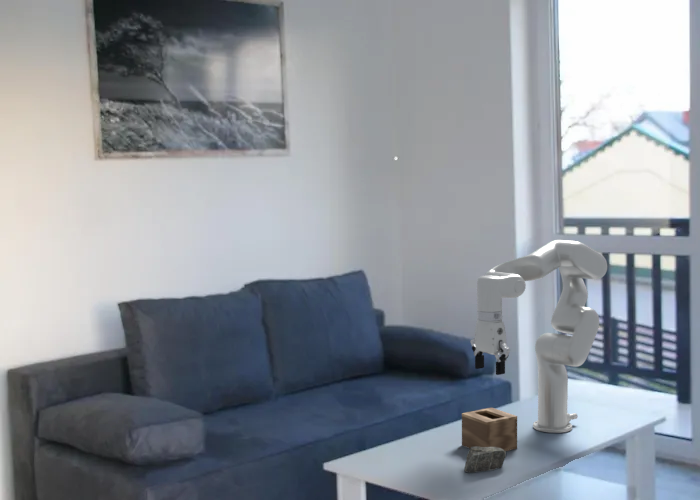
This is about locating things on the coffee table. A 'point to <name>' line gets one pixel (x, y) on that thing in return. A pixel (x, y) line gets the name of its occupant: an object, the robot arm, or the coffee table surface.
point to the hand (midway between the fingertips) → (489, 371)
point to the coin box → (489, 429)
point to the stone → (484, 459)
